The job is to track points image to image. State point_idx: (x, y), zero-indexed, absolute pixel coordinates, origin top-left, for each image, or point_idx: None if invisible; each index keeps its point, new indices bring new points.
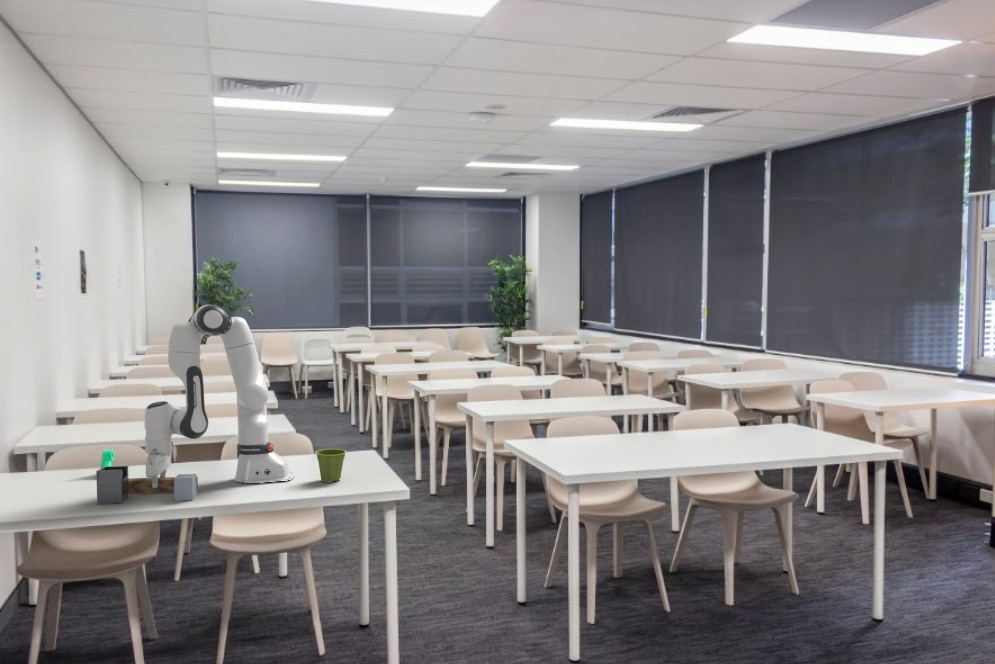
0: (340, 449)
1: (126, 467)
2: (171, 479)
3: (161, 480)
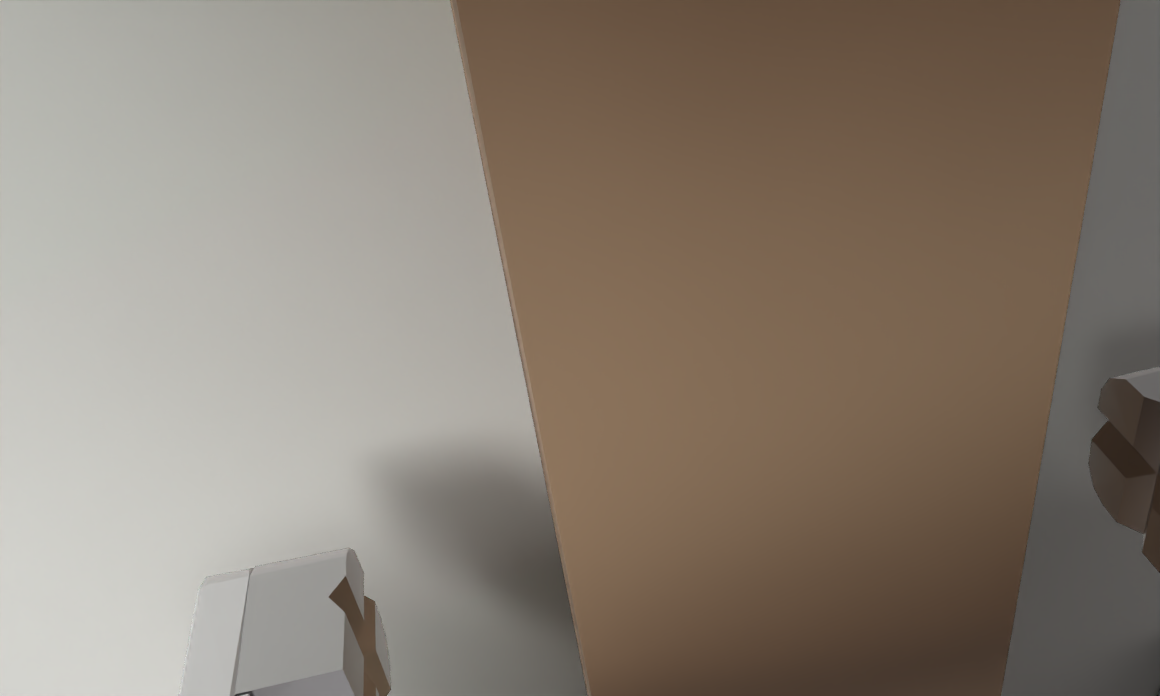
0: None
1: None
2: (1055, 126)
3: (1029, 476)
